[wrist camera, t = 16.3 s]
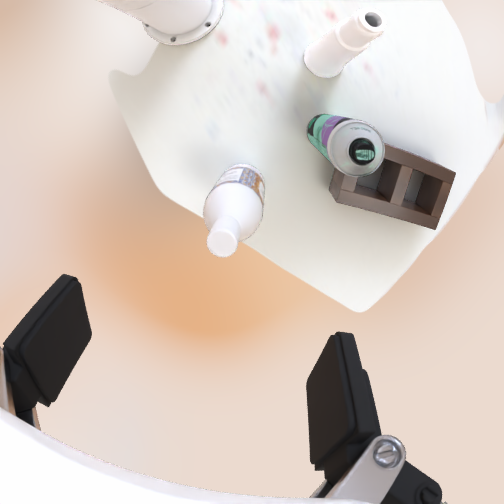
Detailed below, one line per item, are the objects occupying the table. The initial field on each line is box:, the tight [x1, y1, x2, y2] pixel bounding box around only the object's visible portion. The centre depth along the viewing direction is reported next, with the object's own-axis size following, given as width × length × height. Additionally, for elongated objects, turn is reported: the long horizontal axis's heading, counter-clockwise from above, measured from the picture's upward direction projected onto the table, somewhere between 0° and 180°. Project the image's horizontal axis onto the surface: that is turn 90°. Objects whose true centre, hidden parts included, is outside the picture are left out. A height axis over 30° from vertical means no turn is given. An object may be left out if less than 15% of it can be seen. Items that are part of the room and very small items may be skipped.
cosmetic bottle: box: [304, 8, 387, 78], centre depth 24 cm, size 6×6×22 cm
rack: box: [329, 143, 456, 230], centre depth 39 cm, size 10×18×6 cm, turn 80°
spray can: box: [307, 114, 385, 177], centre depth 30 cm, size 6×6×20 cm
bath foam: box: [203, 164, 265, 257], centre depth 35 cm, size 7×7×20 cm
